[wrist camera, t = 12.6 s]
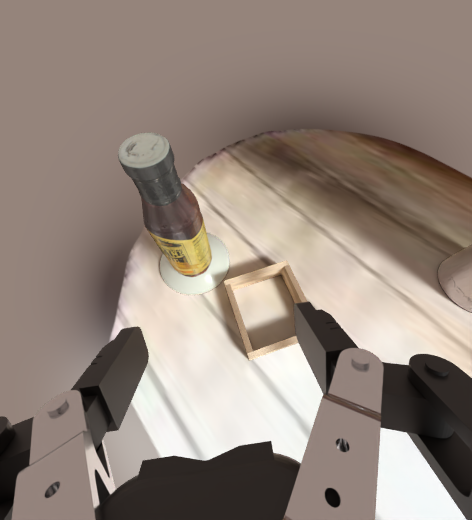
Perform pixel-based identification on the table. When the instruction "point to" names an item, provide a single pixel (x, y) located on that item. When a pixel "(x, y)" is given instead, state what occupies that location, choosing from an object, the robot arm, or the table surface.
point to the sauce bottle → (167, 203)
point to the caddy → (256, 277)
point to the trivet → (204, 280)
